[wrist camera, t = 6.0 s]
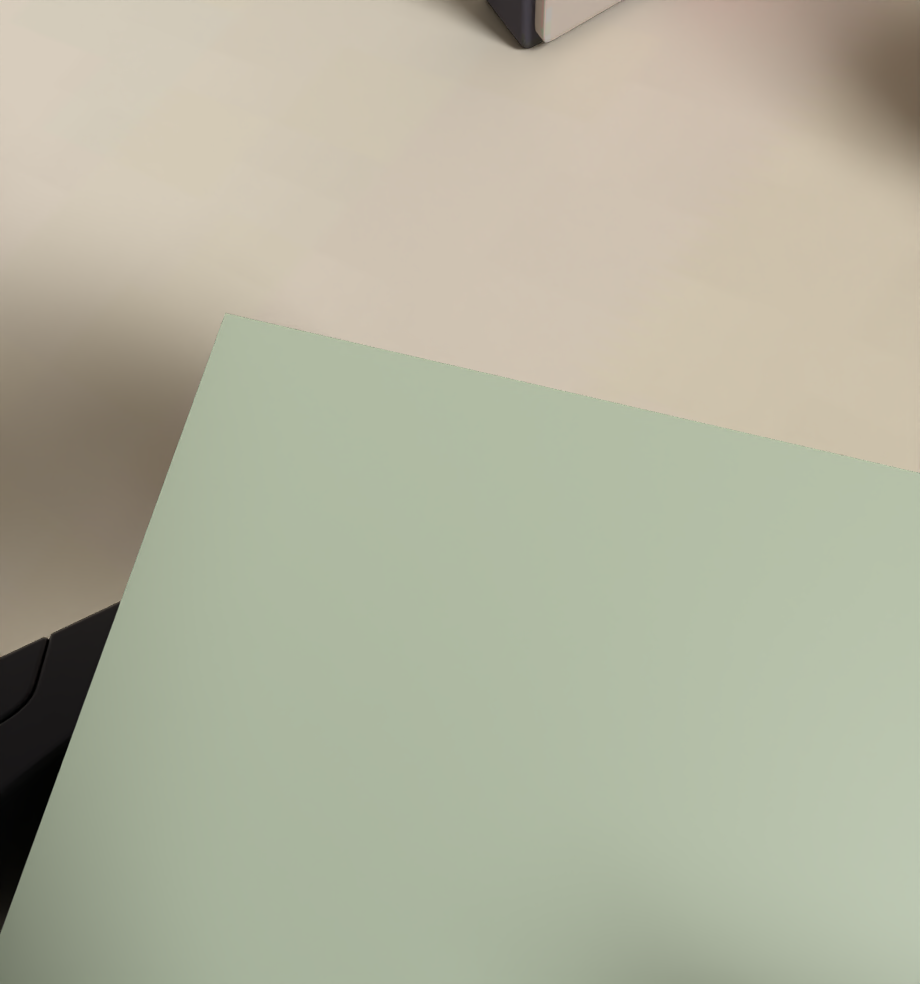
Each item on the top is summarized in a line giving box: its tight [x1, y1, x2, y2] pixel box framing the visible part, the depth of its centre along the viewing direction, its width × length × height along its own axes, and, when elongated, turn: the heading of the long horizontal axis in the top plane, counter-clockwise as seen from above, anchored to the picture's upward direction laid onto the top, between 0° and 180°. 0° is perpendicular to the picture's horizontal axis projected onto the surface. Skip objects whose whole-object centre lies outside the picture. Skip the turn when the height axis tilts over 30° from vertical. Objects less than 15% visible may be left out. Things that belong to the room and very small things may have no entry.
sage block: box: [0, 313, 920, 984], centre depth 9 cm, size 5×5×11 cm
